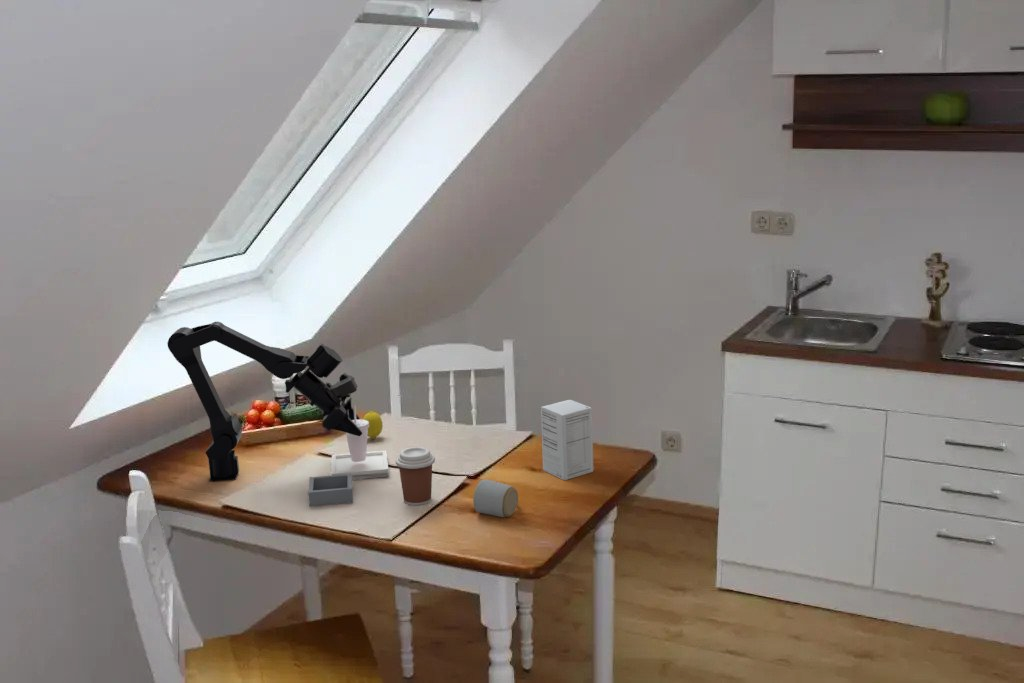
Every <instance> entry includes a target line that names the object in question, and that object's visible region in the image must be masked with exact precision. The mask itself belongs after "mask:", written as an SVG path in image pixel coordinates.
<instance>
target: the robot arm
mask: <svg viewBox="0 0 1024 683" xmlns="http://www.w3.org/2000/svg"><path fill="white" fill-rule="evenodd" d="M212 342H217V343H219V344H221V345H223V346H226V347H227V348H230V349H232V350H233V351H235V352H238V353H240V354H241V355H243V356H246V357H248V358H250V359H252V360H253V361H254V360H255V361H256V362H257V363H259V364H260V365H261V366H262V367H264V369H266V371H267V372H269V373H271V374H272V375H274V376H275V378H278V379H281V380H285V379H286V380H285V381H284V384H285V392H286V393H287V394H288V393H290V392H291V391H292V390H293V389H295V390H297V392H298V393H299V394H301V395H302V396H304V398H306V399H307V400H308V401H309V405H310V406H312V407H313V406H315V407H316V408H317V409H318V410H320V411H321V415H322V416H323V419H322V421H321V423H322V428H324V430H326V431H327V432H328V433H329V432H330V431H331V430H332V431H333V430H334V431H338V432H341V433H342V432H343V433H345V434H346V433H349V434H353V435H356V436H361V435H362V432H361V431H360V429H359V428H358V427H357V426H356V425H355V424H354V422H353V421H352V420H354V408H353V402H352V401H353V398H352V397H351V395H352V394H354V393H356V392H357V389H358V384H357V383H356V381H355V377H353V375H348V374H347V373H346V372H344V373H343V374H340V375H339V379H338V380H339V381H337V382H336V383H334V384H331V383H330V382H328V381H327V382H324V381H323V380H321V379H323V378H328V377H329V376H330V375H331V374H332V373H333V372H334V371H335V370H336V369H337V367H338V366H339V365H340V364H341V363H342V362H343V359H342V357H341V356H340V354H339V353H338V352H337V351H335V350H334V349H332V348H330V347H328V346H325V345H324V344H323V343H320V344H319V345H318V346H317V348H316V349H315V350H314V351H313V353H311V355H300V354H295V353H294V352H293V351H290V350H286V349H285V348H284V349H283V348H280V347H276V346H269V345H266V344H264V343H261V341H260V342H259V341H257V340H256V339H253V338H251V337H250V336H248V335H245V334H243V333H242V332H239V331H237V330H235V329H233V328H231V327H229V326H227V325H225V324H224V323H223V322H221V321H213V322H211V323H208V324H203V325H198V326H195V327H191V328H190V327H188V326H187V327H186V326H183V327H180V328H177V330H175V331H174V332H173V333H172V334H171V335H170V337H169V338H168V340H167V348H168V351H169V352H170V353H171V354H172V356H173V357H174V358H175V361H176V362H177V363H179V364H180V365H181V366H182V367H183V368H184V369H185V371H186V374H187V375H188V377H189V379H190V382H191V383H192V386H193V388H194V390H195V392H196V394H197V396H198V398H199V400H200V402H201V405H202V407H203V409H204V411H205V412H206V415H207V417H208V420H209V425H210V426H209V427H210V434H211V436H212V441H211V443H210V444H209V446H208V448H207V449H206V450H205V455H206V456H207V459H208V467H209V479H208V481H209V482H222V481H234V480H237V476H238V475H239V472H240V465H239V456H238V455H236V450H235V448H236V447H237V445H238V443H239V441H240V439H241V438H242V435H243V431H242V429H243V425H242V424H241V423H240V421H239V418H238V414H237V413H236V412H235V413H233V414H232V415H231V414H230V413H229V412H228V411H227V410H226V408H225V406H224V405H223V402H222V400H221V398H220V396H219V393H218V392H217V390H216V387H215V385H214V383H213V381H212V378H211V377H210V375H209V372H208V370H207V368H206V366H205V364H204V362H203V358H202V350H201V346H204V345H206V344H208V343H212ZM294 374H295V375H294ZM293 375H294V376H293ZM291 377H292V378H291ZM289 378H290V379H289ZM347 398H348V399H347ZM356 419H361V418H360V416H359V415H358V413H356Z"/></svg>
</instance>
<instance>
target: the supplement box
mask: <svg viewBox="0 0 1024 683" xmlns="http://www.w3.org/2000/svg"><path fill="white" fill-rule="evenodd" d="M540 419H541V447H542V448H541V449H542V451H541V452H542V471H543V472H546V473H548V474H550V475H552V476H554V477H556V478H559V479H561V480H562V481H567V480H570V479H574V478H577V477H580V476H584V475H586V474H590V473H593V472H594V447H593V446H594V443H593V442H594V440H593V408H592V407H591V406H588V405H585V404H583V403H580V402H578V401H576V400H573V399H567V400H563V401H559V402H554V403H551V404H547V405H543V406H541V407H540Z"/></svg>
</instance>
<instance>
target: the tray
mask: <svg viewBox="0 0 1024 683" xmlns="http://www.w3.org/2000/svg"><path fill="white" fill-rule="evenodd" d="M330 471H331V472H330V474H331V475H341V474H352V481H353V480H363V479H364V480H365V479H376V478H388V477H390V474H389V473H390V472H389V464H388V455H387V450H386V449H385V450H374V451H373V450H372V451H366V460H364V461H361V462H353V461H351V456H350V452H349V453H337V454H331V469H330Z"/></svg>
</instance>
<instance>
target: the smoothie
mask: <svg viewBox="0 0 1024 683" xmlns="http://www.w3.org/2000/svg"><path fill="white" fill-rule="evenodd" d="M352 408H353V409H354V420H352V421H353V422H354V424H355V425H356V426H357V427H358V428H359V429H360V431H361V432H362V435H361V436H356V435H353V434H349V433H346V432H345V435H346V440H347V444H348V450H349V453H350V456H351V461H353V462H361V461H364V460H366V452H367V446H368V436H367V434H368V427H369V422H368V421H367V420H363V418H362V419H361V418H360V419H356V414H357V406H356V405H352Z"/></svg>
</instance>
